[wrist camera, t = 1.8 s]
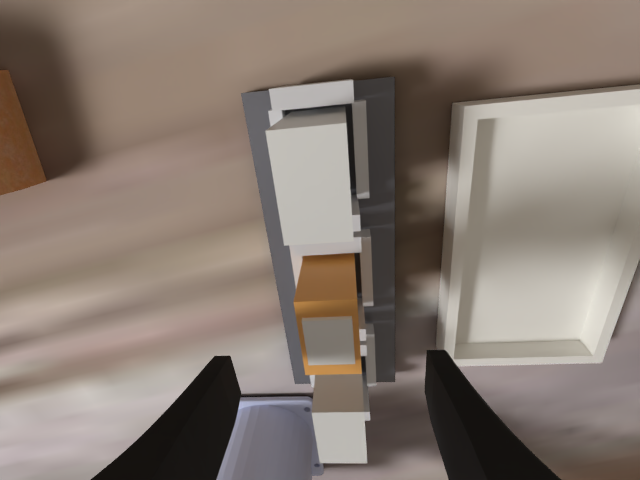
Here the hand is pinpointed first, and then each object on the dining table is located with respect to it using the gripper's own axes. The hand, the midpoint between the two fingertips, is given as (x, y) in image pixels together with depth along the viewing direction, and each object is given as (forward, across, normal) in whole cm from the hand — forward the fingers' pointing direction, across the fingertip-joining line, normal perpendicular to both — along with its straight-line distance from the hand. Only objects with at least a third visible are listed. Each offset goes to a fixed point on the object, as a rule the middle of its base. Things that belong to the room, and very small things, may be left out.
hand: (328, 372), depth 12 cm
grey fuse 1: (+8, 0, -6) cm, 10 cm away
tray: (+9, -11, 0) cm, 14 cm away
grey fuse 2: (+8, 0, +7) cm, 10 cm away
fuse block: (+9, 0, 0) cm, 9 cm away
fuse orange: (+8, 0, 0) cm, 8 cm away
